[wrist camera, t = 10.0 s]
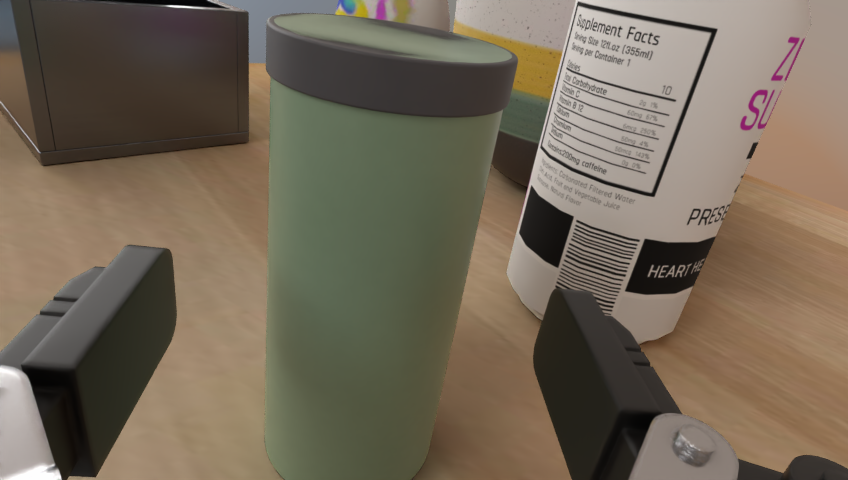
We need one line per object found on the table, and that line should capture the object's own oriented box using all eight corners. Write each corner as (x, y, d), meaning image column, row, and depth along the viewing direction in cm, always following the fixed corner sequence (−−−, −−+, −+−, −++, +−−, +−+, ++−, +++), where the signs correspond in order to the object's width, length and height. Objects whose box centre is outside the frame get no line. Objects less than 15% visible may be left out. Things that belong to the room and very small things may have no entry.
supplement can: (498, 247, 30) (572, -57, 23) (644, 271, 30) (761, -25, 23) (508, 337, 23) (620, -66, 16) (700, 368, 23) (894, -19, 16)
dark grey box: (248, 142, 39) (248, 11, 35) (41, 166, 31) (9, -3, 27) (172, 92, 47) (165, -19, 43) (-8, 100, 39) (-38, -36, 35)
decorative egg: (312, 73, 61) (320, -78, 54) (403, 75, 68) (420, -59, 61) (362, 104, 53) (379, -71, 46) (461, 103, 59) (488, -50, 53)
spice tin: (242, 502, 15) (237, 33, 9) (278, 366, 19) (289, 4, 14) (439, 511, 15) (548, 79, 10) (427, 377, 20) (494, 36, 14)
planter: (752, 238, 37) (934, -136, 27) (505, 255, 29) (632, -255, 20) (583, 142, 52) (659, -117, 43) (393, 137, 45) (433, -178, 35)
